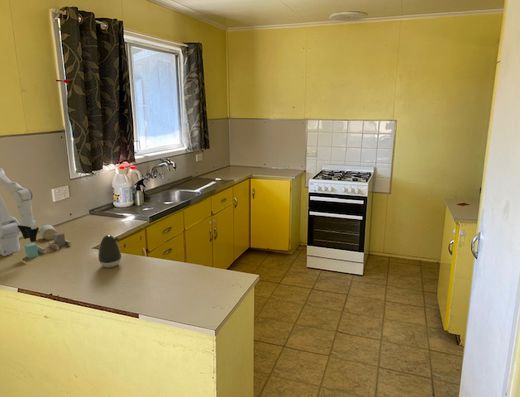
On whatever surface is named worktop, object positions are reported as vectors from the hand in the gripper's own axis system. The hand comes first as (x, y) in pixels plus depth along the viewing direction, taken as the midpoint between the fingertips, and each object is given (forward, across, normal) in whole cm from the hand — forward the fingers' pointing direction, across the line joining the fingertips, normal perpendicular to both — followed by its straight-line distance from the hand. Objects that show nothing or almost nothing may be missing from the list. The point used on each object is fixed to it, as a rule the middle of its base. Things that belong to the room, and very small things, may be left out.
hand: (30, 240), depth 193 cm
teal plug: (+10, 0, 0) cm, 10 cm away
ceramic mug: (+10, +22, -19) cm, 31 cm away
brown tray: (+9, +3, -12) cm, 15 cm away
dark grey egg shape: (+10, -40, -19) cm, 45 cm away
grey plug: (+9, +3, -15) cm, 18 cm away
